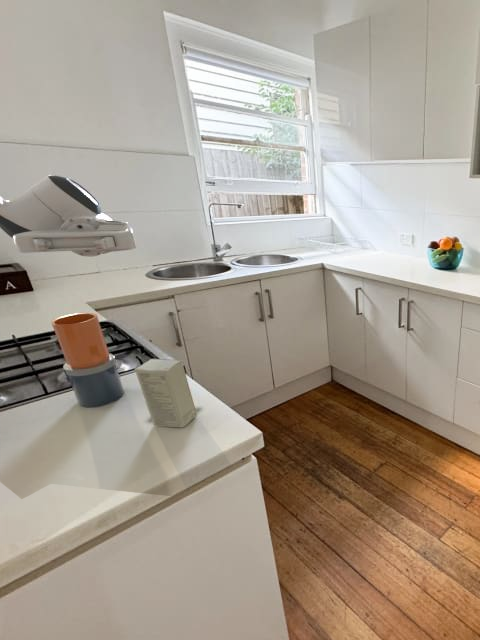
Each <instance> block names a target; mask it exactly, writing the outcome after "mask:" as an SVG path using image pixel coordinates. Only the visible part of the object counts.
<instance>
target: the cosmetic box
mask: <svg viewBox="0 0 480 640" xmlns="http://www.w3.org/2000/svg"><path fill="white" fill-rule="evenodd" d="M134 372H135V375H136V377H137V380H138V383H139V387H140V389H141V392H142V395H143V398H144V400H145V405H146V406H147V410H148V412H149V415H150V419H151V421H152V424H153V426H155V427H167V428H185V427H186V426H187V425H188V424H189V423H190V422H191V421H193V419H194V418H195V417H197V416H198V413H197V410H196V406H195V403H194V400H193V395H192V391H191V388H190V385H189V382H188V378H187V374H186V369H185V367H184V363H183V360H182V359H168V358H167V359H166V358H165V359H164V358H150V359H148V360H147V361H145V362H144V363H142V364H140V365H139V366H137V367H135V368H134Z"/></svg>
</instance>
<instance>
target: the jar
mask: <svg viewBox="0 0 480 640" xmlns="http://www.w3.org/2000/svg"><path fill="white" fill-rule="evenodd" d="M109 354H110V359H109V360H108V361H106V362H104V363H102V364H100V365H97V366H93V367H89V368H81V369H74V368H70V367H69V366H68V364H67V362H65V363H64V364H63V366H62V368H63V371H64V374H66V375H67V378H68V380H69V383H70V385H71V388H72V391H73V393H74V396H75V398H76V402H77V403H78V405H79V406H80V407H82V408H97V407H102V406H105V405H108V404H112V403H113V402H115V401H117V400H119V399H121V398H122V397H123V396H124V395H125V389H124V386H123V383H122V380H121V377H120V373H119V371H118V368H117V365H116V363H117V361H116V357H115V355H114V354H113V353H111V352H109Z"/></svg>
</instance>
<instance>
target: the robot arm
mask: <svg viewBox="0 0 480 640" xmlns="http://www.w3.org/2000/svg"><path fill="white" fill-rule="evenodd" d="M0 229H1V230H2V231H3V232H4V233H5V234H6V235H8V236H9V237H10V238H11V239H12V240H13V244H14V246H15V248H16V250H17V251H18V252H19V253H23V254H26V253H29V254H31V253H55V252H72V253H74V254H76V255H78V256H82V257H87V258H88V257H89V258H90V257H92V258H93V257H97V256H100V255H102V254H103V255H105V254H109V253H112V252H121V251H122V252H123V251H130V250H134V249H136V248H137V241H136V238H135V233H134V230H133V228H132V227H131V226H130V225H129V222H127V221H122V220H113V219H112V218H111V217H110V216H109V215H107V214H105V213H103V212H102V207H101V205H100V203H99V201H98V200H97V199H96V198H95V197H94V196H93V195H92V194H91V193H90V192H89V191H88V190H87V189H86V188H85V187H83V186H82V185H81V184H80V183H77V182H76V181H74V180H73V179H70V178H68V177H64V176H61V175H55V174H48V175H47V176H45V177H44V178H42V179H40V180H39V181H37V182H36V183H35V184H33V185H32V186H31V187H29V189H26V191H24V192H23V193H21V194H19V195H18V196H16V197H15V198H13V199H11V200H7V199H4V198H3V197H2V196H1V195H0Z"/></svg>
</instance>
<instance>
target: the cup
mask: <svg viewBox="0 0 480 640" xmlns="http://www.w3.org/2000/svg"><path fill="white" fill-rule="evenodd" d="M51 326H52V328H53V331H54V333H55V336H56V339H57V341H58V344H59V347H60V349H61V352H62V354H63V357H64V360H65V363H67V364H68V366H69V367H70V368H74V369H81V368H89V367H93V366H97V365H100V364H102V363H104V362H106V361H108V360H109V359H110V354H111V353H110V352H109V348H108V345H107V342H106V339H105V336H104V332H103V330H102V326H101V324H100V321H99V318H98V314H96V313H94V312H93V313H92V312H80V313H73V314H68V315H63V316H60V317H57V318H55V319H53V320H52V321H51ZM109 353H110V354H109Z"/></svg>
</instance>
